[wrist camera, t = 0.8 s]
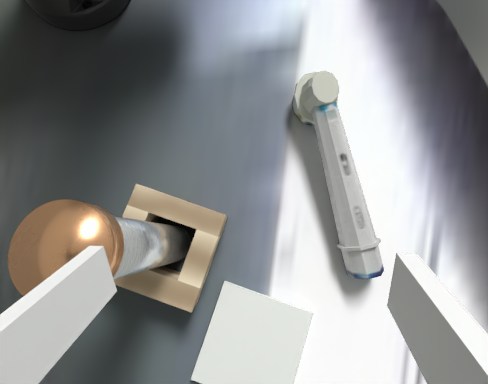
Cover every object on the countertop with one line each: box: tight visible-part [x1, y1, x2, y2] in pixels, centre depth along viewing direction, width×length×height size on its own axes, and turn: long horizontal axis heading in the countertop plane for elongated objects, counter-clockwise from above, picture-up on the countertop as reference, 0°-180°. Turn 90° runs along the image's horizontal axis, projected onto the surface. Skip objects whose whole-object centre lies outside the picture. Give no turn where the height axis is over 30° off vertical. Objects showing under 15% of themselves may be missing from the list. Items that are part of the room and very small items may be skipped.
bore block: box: [114, 184, 228, 312], centre depth 29 cm, size 11×11×4 cm
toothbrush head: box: [292, 71, 384, 279], centre depth 30 cm, size 5×7×25 cm
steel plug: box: [8, 199, 190, 296], centre depth 22 cm, size 5×5×18 cm
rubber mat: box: [191, 281, 313, 384], centre depth 29 cm, size 11×11×1 cm
